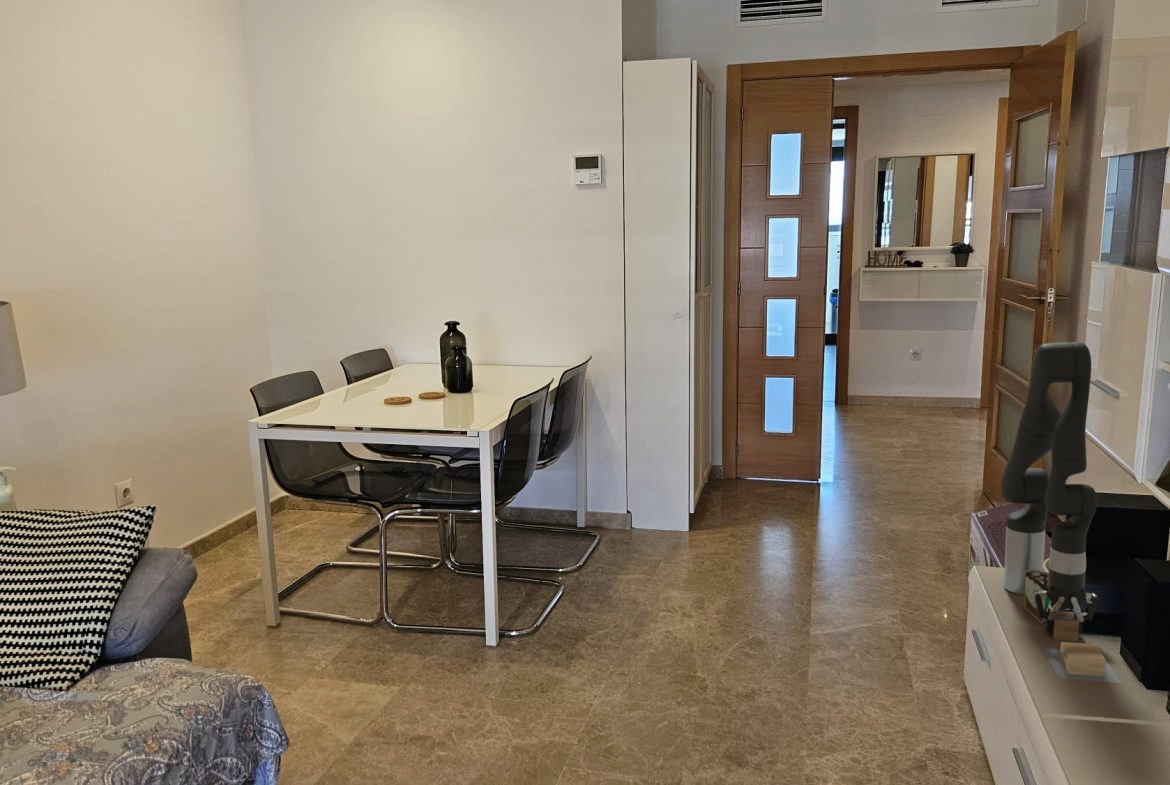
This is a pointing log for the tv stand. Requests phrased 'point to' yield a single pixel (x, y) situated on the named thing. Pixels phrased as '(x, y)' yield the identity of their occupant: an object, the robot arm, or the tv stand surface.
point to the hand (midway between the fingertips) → (1063, 633)
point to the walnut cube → (1065, 626)
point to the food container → (1032, 583)
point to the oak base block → (1082, 659)
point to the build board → (1063, 674)
